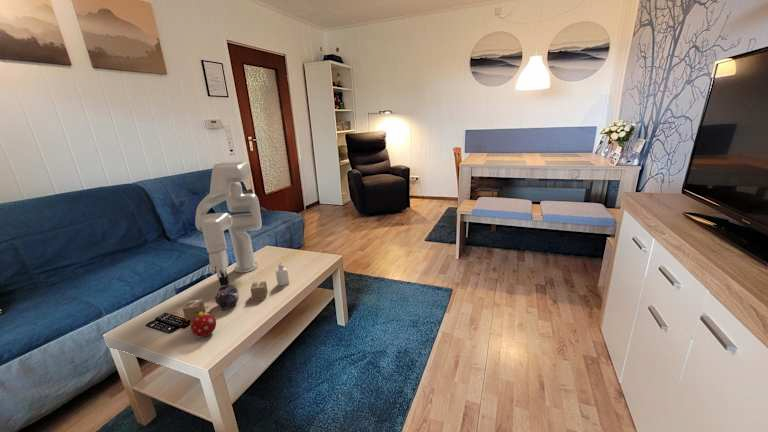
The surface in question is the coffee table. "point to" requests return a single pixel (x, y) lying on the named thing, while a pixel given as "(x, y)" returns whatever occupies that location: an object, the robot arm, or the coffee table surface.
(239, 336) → the coffee table surface
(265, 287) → the walnut block
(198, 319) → the christmas ornament
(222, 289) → the mineral specimen
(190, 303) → the brown cube
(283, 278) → the eye dropper bottle
